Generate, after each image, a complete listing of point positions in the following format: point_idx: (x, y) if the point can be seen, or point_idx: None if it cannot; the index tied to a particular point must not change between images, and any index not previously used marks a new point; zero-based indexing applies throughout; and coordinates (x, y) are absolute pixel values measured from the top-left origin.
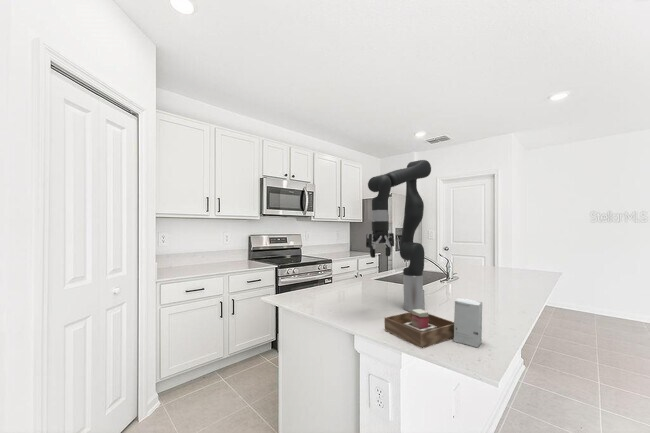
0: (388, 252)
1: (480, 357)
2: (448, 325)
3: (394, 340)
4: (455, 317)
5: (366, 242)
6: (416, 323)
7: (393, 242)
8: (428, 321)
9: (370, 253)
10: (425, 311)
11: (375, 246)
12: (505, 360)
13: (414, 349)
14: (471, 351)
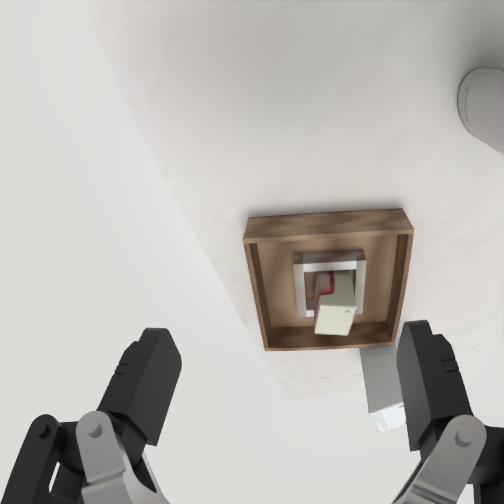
0: (404, 394)
1: (334, 374)
2: (363, 345)
3: (234, 278)
4: (364, 378)
5: (19, 469)
6: (315, 298)
7: (497, 500)
8: (397, 259)
9: (120, 370)
10: (345, 330)
11: (150, 478)
12: (357, 387)
13: (249, 323)
14: (343, 361)
